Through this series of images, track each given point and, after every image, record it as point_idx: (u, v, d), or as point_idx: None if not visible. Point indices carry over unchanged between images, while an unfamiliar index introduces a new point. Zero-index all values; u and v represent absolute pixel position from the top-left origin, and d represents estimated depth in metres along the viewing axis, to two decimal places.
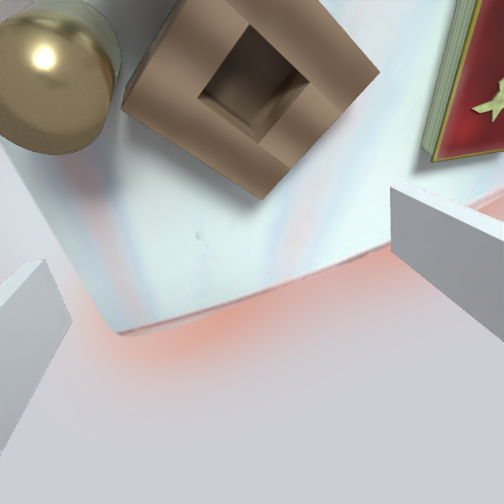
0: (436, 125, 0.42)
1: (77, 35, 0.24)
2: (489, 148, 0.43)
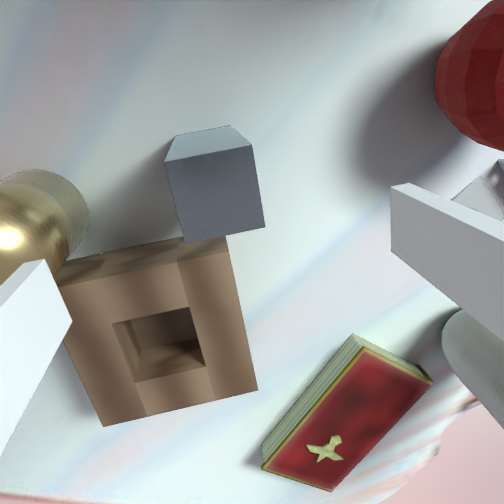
0: (278, 440, 0.47)
1: (51, 244, 0.26)
2: (307, 480, 0.49)
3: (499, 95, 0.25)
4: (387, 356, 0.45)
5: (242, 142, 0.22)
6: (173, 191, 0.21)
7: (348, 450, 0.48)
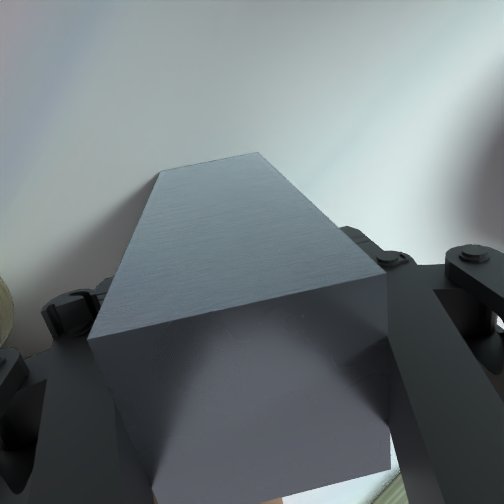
0: None
1: None
2: None
3: None
4: None
5: (333, 242, 0.08)
6: (126, 415, 0.07)
7: None
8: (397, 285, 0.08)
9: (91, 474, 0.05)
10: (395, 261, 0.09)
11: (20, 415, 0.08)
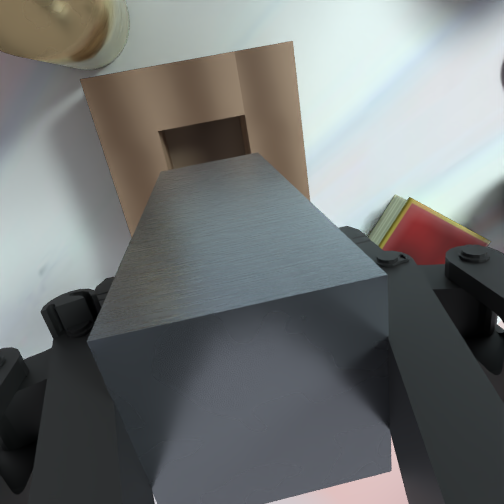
0: None
1: None
2: None
3: None
4: None
5: (334, 243, 0.08)
6: (126, 417, 0.07)
7: None
8: (397, 285, 0.08)
9: (91, 474, 0.05)
10: (395, 261, 0.09)
11: (20, 415, 0.08)
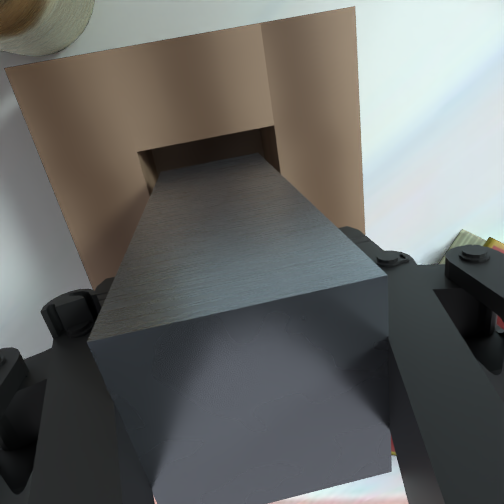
0: None
1: None
2: None
3: None
4: None
5: (334, 243, 0.08)
6: (126, 417, 0.07)
7: None
8: (397, 285, 0.08)
9: (92, 474, 0.05)
10: (395, 261, 0.09)
11: (20, 415, 0.08)
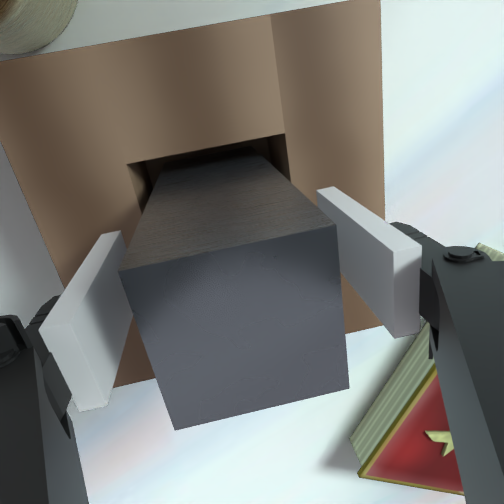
0: (377, 429, 0.31)
1: None
2: (429, 483, 0.32)
3: None
4: None
5: (302, 207, 0.10)
6: (144, 333, 0.09)
7: None
8: (469, 282, 0.08)
9: None
10: (468, 257, 0.09)
11: None
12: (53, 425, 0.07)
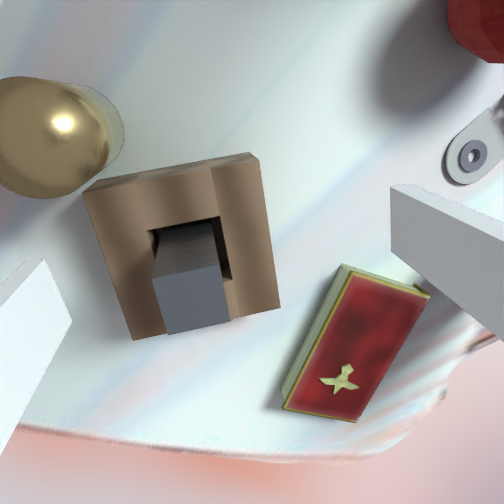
0: (293, 379, 0.50)
1: (102, 131, 0.28)
2: (329, 413, 0.51)
3: None
4: (380, 279, 0.46)
5: (212, 257, 0.29)
6: (158, 298, 0.28)
7: (362, 378, 0.49)
8: None
9: None
10: None
11: None
12: None
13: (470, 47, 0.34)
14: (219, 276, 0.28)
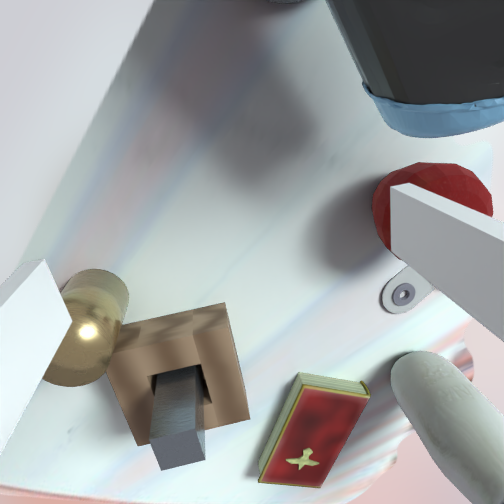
0: (266, 458, 0.62)
1: (113, 334, 0.40)
2: (297, 483, 0.63)
3: None
4: (329, 383, 0.58)
5: (192, 417, 0.41)
6: (154, 450, 0.40)
7: (321, 456, 0.62)
8: None
9: None
10: None
11: None
12: None
13: None
14: (196, 435, 0.40)
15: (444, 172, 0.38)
